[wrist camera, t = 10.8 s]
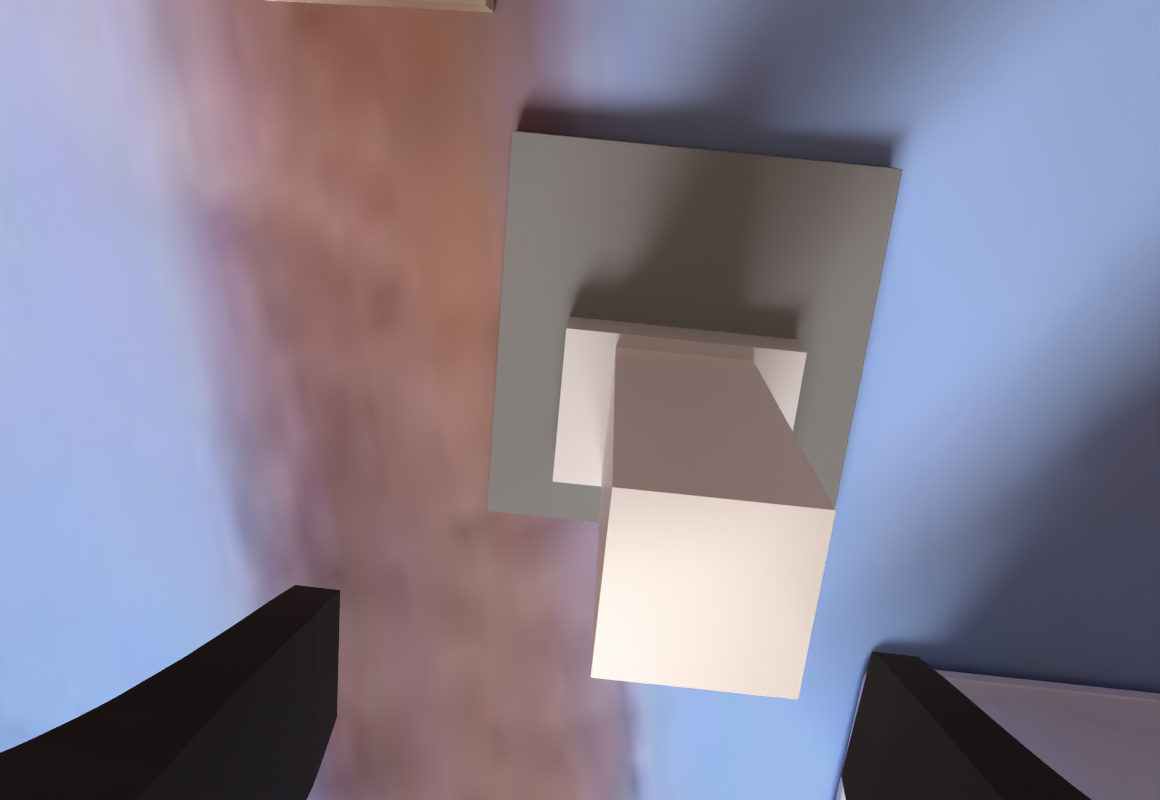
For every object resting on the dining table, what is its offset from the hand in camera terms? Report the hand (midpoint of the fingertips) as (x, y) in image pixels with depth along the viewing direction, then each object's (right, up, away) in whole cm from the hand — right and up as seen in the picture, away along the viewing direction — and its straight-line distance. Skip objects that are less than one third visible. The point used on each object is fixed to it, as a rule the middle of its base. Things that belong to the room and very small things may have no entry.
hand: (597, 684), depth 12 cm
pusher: (+2, +4, +9) cm, 10 cm away
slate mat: (+2, +5, +9) cm, 11 cm away
